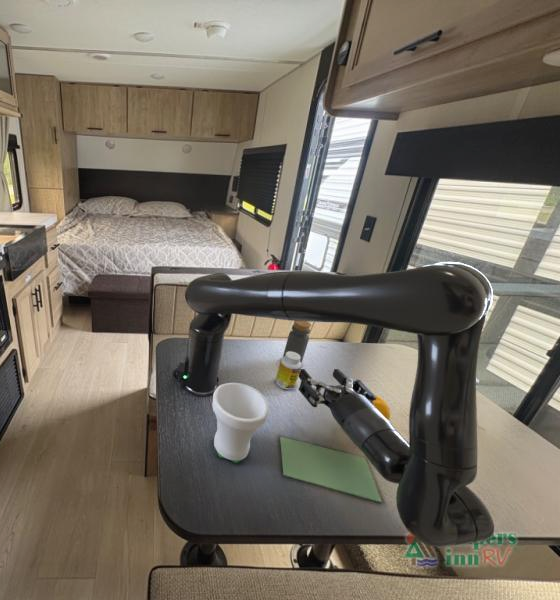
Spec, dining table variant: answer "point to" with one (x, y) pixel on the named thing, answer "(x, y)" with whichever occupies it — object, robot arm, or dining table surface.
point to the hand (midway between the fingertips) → (318, 371)
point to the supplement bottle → (288, 370)
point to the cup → (237, 418)
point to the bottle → (298, 338)
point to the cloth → (328, 468)
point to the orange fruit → (382, 407)
